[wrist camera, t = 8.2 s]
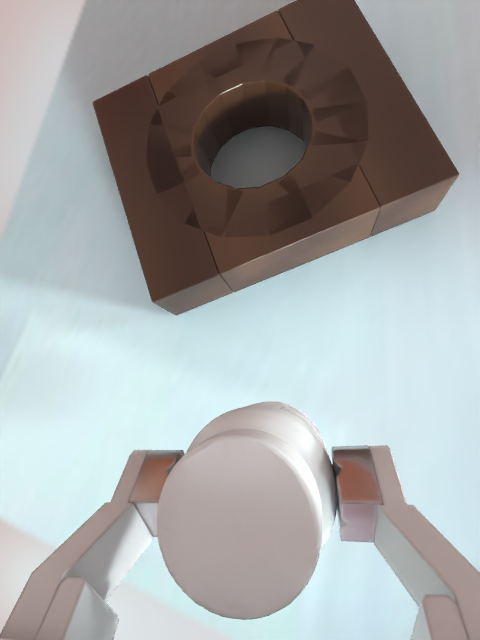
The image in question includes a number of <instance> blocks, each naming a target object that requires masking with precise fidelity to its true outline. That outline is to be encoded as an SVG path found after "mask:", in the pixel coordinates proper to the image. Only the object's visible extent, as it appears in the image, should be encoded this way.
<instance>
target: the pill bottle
mask: <svg viewBox="0 0 480 640" xmlns="http://www.w3.org/2000/svg"><path fill="white" fill-rule="evenodd" d="M336 510H337V486H336V480H335V476H334V471H333V467H332V464H331V461H330V458H329V455H328V452H327V448H326V445H325V442H324V440H323V438H322V435H321V433H320V432H319V430H318V428H317V427H316V425H315V424H314V423H313V422H312V420H311V419H310V418H309V417H308V416H306V415H305V414H304V413H303V412H301V411H300V410H298V409H297V408H295V407H293V406H290V405H288V404H285V403H280V402H262V403H257V404H253V405H250V406H246V407H242V408H238V409H235V410H232V411H229V412H226V413H224V414H222V415H220V416H219V417H217V418H215V419H214V420H212V421H211V422H210V423H209V424H207V425H206V426H205V427H204V428H203V429H202V430H201V431H200V432H199V434H198V435H197V436H196V437H195V439H194V440H193V442H192V443H191V445H190V447H189V449H188V451H187V453H186V454H185V455H184V456H183V457H182V458H181V459H180V460H179V461H178V462H177V463H176V465H175V466H174V467H173V469H172V470H171V472H170V474H169V475H168V477H167V479H166V481H165V483H164V486H163V489H162V492H161V495H160V499H159V504H158V510H157V534H158V541H159V546H160V550H161V552H162V556H163V559H164V561H165V564H166V566H167V568H168V570H169V572H170V574H171V576H172V577H173V579H174V580H175V582H176V583H177V584H178V585H179V587H180V588H181V589H182V590H183V592H184V593H186V594H187V595H188V596H189V597H190V598H191V599H192V600H193V601H194V602H195V603H196V604H198V605H200V606H202V607H204V608H205V609H206V610H208V611H210V612H212V613H215V614H217V615H220V616H222V617H227V618H233V619H242V620H245V619H256V618H262V617H265V616H269V615H271V614H273V613H275V612H277V611H279V610H281V609H282V608H284V607H286V606H287V605H289V604H290V603H291V602H292V601H293V600H294V599H295V598H296V597H297V596H298V595H299V594H300V593H301V592H302V591H303V589H304V588H305V586H306V585H307V584H308V582H309V580H310V578H311V576H312V574H313V573H314V570H315V568H316V565H317V561H318V558H319V554H320V551H321V549H322V548H323V546H324V545H325V543H326V541H327V539H328V537H329V535H330V533H331V530H332V528H333V525H334V520H335V516H336Z"/></svg>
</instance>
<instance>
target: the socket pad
mask: <svg viewBox="0 0 480 640" xmlns="http://www.w3.org/2000/svg"><path fill="white" fill-rule="evenodd" d="M148 76H149V77H148ZM148 76H147V75H146V76H144V77H142V78H140V79H138V80H136V81H134V82H132V83H130V84H128V85H126V86H124V87H122V88H120V89H118V90H116V91H114V92H112V93H110V94H108V95H106V96H104V97H102V98H100V99H98V100H96V101H94V102H93V106H94V109H95V113H96V116H97V119H98V123H99V126H100V129H101V133H102V136H103V139H104V143H105V146H106V149H107V153H108V156H109V159H110V163H111V166H112V169H113V173H114V176H115V179H116V183H117V186H118V189H119V193H120V196H121V199H122V203H123V206H124V209H125V213H126V216H127V220H128V223H129V226H130V230H131V233H132V236H133V240H134V243H135V246H136V250H137V253H138V256H139V260H140V263H141V266H142V270H143V273H144V276H145V280H146V283H147V286H148V290H149V293H150V296H151V300H152V302H153V303H155V304H157V305H159V306H160V307H162V308H164V309H166V310H167V311H169V312H171V313H173V314H175V315H179V314H181V313H184V312H186V311H188V310H191V309H193V308H196V307H198V306H201V305H203V304H206V303H208V302H211V301H213V300H216V299H218V298H220V297H223V296H225V295H228V294H230V293H232V292H236V291H238V290H241V289H243V288H246V287H248V286H251V285H253V284H256V283H258V282H260V281H263V280H265V279H268V278H270V277H273V276H275V275H278V274H280V273H283V272H285V271H287V270H290V269H292V268H295V267H297V266H300V265H302V264H305V263H307V262H310V261H312V260H315V259H317V258H319V257H322V256H324V255H327V254H329V253H332V252H334V251H337V250H339V249H342V248H344V247H346V246H349V245H351V244H354V243H356V242H359V241H361V240H364V239H366V238H368V237H369V236H373V235H376V234H378V233H380V232H383V231H385V230H388V229H390V228H393V227H395V226H398V225H400V224H403V223H405V222H407V221H410V220H412V219H415V218H417V217H420V216H422V215H425V214H427V213H430V212H432V211H434V210H435V209H436V208H437V206H438V205H439V203H440V202H441V201H442V199H443V198H444V196H445V195H446V193H447V192H448V190H449V189H450V187H451V186H452V185H453V183H454V182H455V180H456V179H457V177H458V176H459V173H458V171H457V169H456V168H455V166H454V164H453V163H452V161H451V159H450V158H449V156H448V154H447V153H446V151H445V149H444V148H443V146H442V145H441V143H440V141H439V140H438V138H437V136H436V135H435V133H434V131H433V130H432V128H431V126H430V125H429V123H428V121H427V120H426V118H425V116H424V115H423V113H422V111H421V110H420V108H419V106H418V105H417V103H416V101H415V100H414V98H413V97H412V95H411V93H410V92H409V90H408V88H407V87H406V85H405V83H404V82H403V80H402V78H401V77H400V75H399V73H398V72H397V70H396V68H395V67H394V65H393V63H392V62H391V60H390V58H389V57H388V55H387V53H386V52H385V50H384V49H383V47H382V45H381V44H380V42H379V40H378V39H377V37H376V35H375V34H374V32H373V30H372V29H371V27H370V25H369V24H368V22H367V20H366V19H365V17H364V15H363V14H362V12H361V10H360V9H359V7H358V5H357V4H356V2H355V1H354V0H297V1H294V2H292V3H290V4H288V5H286V6H284V7H282V8H280V9H279V11H275V12H273V13H271V14H269V15H267V16H265V17H263V18H261V19H259V20H257V21H255V22H253V23H251V24H249V25H247V26H245V27H243V28H241V29H239V30H236V31H234V32H232V33H230V34H228V35H226V36H224V37H222V38H220V39H218V40H216V41H214V42H212V43H210V44H208V45H206V46H204V47H202V48H200V49H198V50H196V51H194V52H192V53H190V54H188V55H186V56H184V57H182V58H180V59H178V60H176V61H174V62H172V63H170V64H168V65H166V66H164V67H162V68H160V69H158V70H156V71H154V72H152V73H150V74H149V75H148ZM267 125H272V126H276V127H280V128H284V129H287V130H290V131H292V132H293V133H294V134H296V135H297V136H298V137H299V138H301V139H302V140H303V141H304V143H305V145H306V147H307V149H306V151H305V153H304V155H303V158H302V160H301V161H300V162H299V163H298V164H297V165H295V166H294V167H293V168H292V169H291V170H290V171H289V172H288V173H287V174H286V175H285V176H284V177H281V178H279V179H277V180H275V181H272V182H270V183H268V184H266V185H263V186H261V187H253V188H238V189H236V188H233V187H230V186H227V185H224V184H221V183H217V182H215V181H214V180H213V179H212V178H211V177H210V172H211V165H212V163H213V161H214V159H215V157H216V155H217V153H218V151H219V149H220V148H221V147H222V146H223V145H224V144H225V143H226V142H227V141H228V140H229V139H230V138H231V137H232V136H233V135H236V134H238V133H240V132H242V131H244V130H246V129H249V128H251V127H257V126H267Z"/></svg>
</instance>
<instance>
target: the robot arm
mask: <svg viewBox="0 0 480 640" xmlns="http://www.w3.org/2000/svg"><path fill="white" fill-rule="evenodd" d="M184 455H185V454H184V452H183V450H134V451H133V452H132V454H131V455H130V456H129V459H128V461H127V464H126V466H125V468H124V471H123V473H122V476H121V478H120V480H119V483H118V485H117V488H116V490H115V492H114V495H113V497H112V500H111V502H108V503H105V504H104V505H103V506H102V507H101V508H100V509H98V510H97V511H96V512H95V513H94V514H93V515H92V516H91V517H90V518H89V519H88V520H87V521H86V522H85V523H84V524H83V525H82V526H81V527H80V528H78V529H77V530H76V531H75V532H74V533H73V534H72V535H71V536H70V537H69V538H68V539H67V540H66V541H65V542H64V543H63V544H62V545H61V546H60V547H59V548H57V549H56V550H55V551H54V552H53V553H52V554H51V555H50V556H49V557H48V558H47V559H46V560H45V561H44V562H43V563H42V564H41V565H40V566H39V567H38V568H36V569H35V570H34V571H33V572H32V574H31V576H30V578H29V579H28V582H27V583H26V585H25V587H24V589H23V591H22V593H21V595H20V597H19V599H18V601H17V603H16V605H15V607H14V609H13V611H12V612H11V614H10V616H9V618H8V620H7V622H6V624H5V626H4V628H3V630H2V632H1V634H0V640H113V639H114V635H115V632H116V629H117V625H118V622H119V619H118V616H117V614H116V613H115V612H114V611H113V610H112V609H111V608H110V607H109V606H108V604H107V603H106V601H107V600H108V599H109V597H110V596H111V595H112V593H113V592H114V591H115V589H116V588H117V587H118V585H119V584H120V583H121V581H122V580H123V579H124V577H125V576H126V575H127V573H128V572H129V571H130V569H131V568H132V567H133V565H134V564H135V563H136V561H137V560H138V559H139V557H140V556H141V555H142V553H143V552H144V551H145V549H146V548H147V547H148V545H149V544H150V543H151V542H152V540H153V537H158V534H157V510H158V504H159V499H160V495H161V492H162V489H163V486H164V483H165V481H166V479H167V477H168V475H169V474H170V472H171V470H172V469H173V467H174V466H175V465H176V463H177V462H178V461H179V460H180V459H181V458H182V457H183V456H184ZM332 460H333V464H332V467H333V471H334V476H335V480H336V486H337V515H338V523H339V530H340V537H341V541H354V542H373V543H374V545H375V546H376V548H377V549H378V550H379V552H380V553H381V555H382V556H383V557H384V559H385V560H386V562H387V563H388V564H389V566H390V567H391V569H392V570H393V571H394V573H395V574H396V576H397V577H398V578H399V580H400V581H401V583H402V584H403V586H404V587H405V588H406V590H407V591H408V593H409V594H410V595H411V597H412V598H413V600H414V601H415V602H416V604H417V605H418V607H419V612H418V615H417V618H416V622H415V625H414V629H413V632H412V635H411V639H410V640H480V573H479V572H478V571H477V570H476V569H475V568H474V567H473V566H472V564H471V563H470V562H469V561H468V560H467V559H466V558H465V557H464V556H463V555H462V554H461V553H460V552H459V551H458V550H457V549H456V548H455V547H454V546H453V545H452V544H451V543H450V542H449V541H448V540H447V539H446V538H445V537H444V536H443V535H442V534H441V533H440V532H439V531H438V530H437V529H436V528H435V527H434V526H433V525H432V524H431V523H430V522H429V521H428V520H427V519H426V518H425V517H424V516H423V515H422V514H421V513H420V511H419V510H418V509H417V508H416V507H415V506H414V505H407V503H406V499H405V496H404V493H403V489H402V486H401V483H400V479H399V476H398V473H397V469H396V466H395V463H394V460H393V456H392V453H391V450H390V448H389V447H388V446H387V445H385V446H339V447H332Z"/></svg>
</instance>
